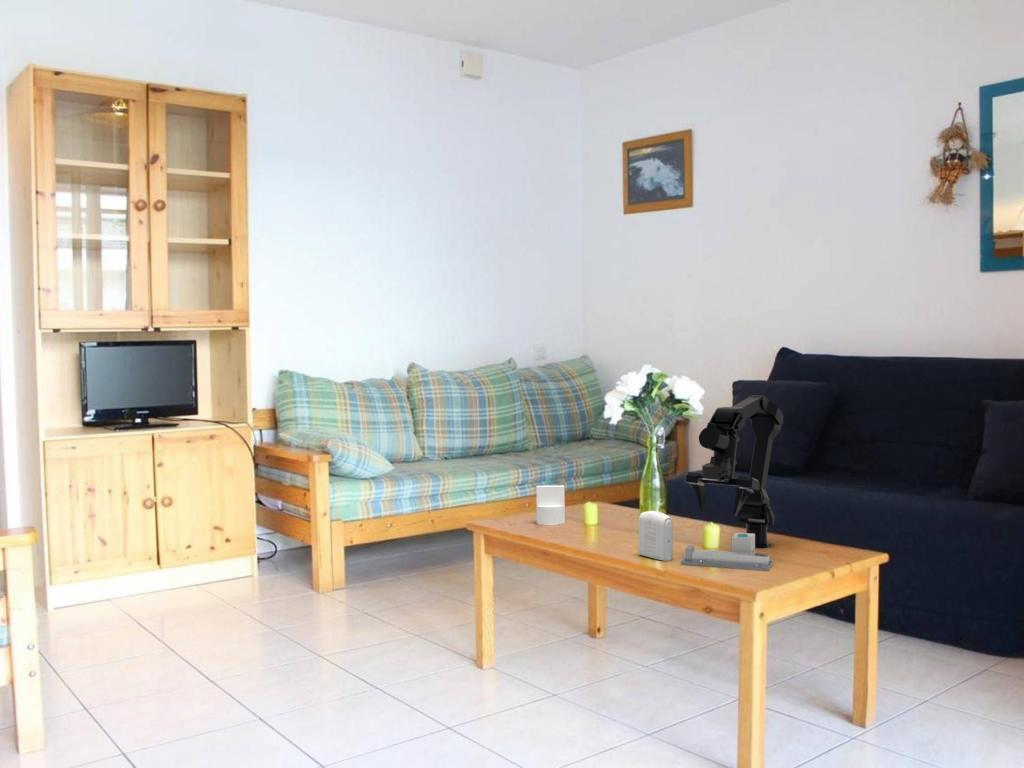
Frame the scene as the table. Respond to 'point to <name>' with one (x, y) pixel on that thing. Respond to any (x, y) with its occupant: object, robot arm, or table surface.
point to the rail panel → (731, 565)
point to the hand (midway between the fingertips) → (718, 514)
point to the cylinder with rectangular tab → (550, 504)
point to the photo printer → (656, 535)
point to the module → (743, 543)
